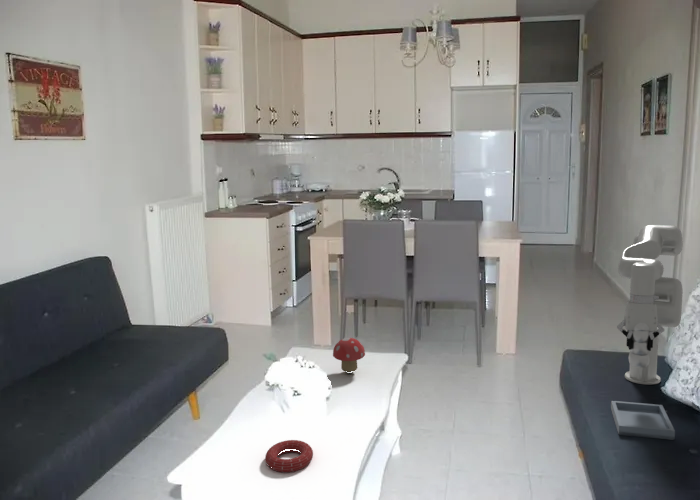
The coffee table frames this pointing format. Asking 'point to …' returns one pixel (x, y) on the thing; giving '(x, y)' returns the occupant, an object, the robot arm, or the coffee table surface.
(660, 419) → the tray
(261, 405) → the coffee table surface
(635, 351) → the plastic bottle
